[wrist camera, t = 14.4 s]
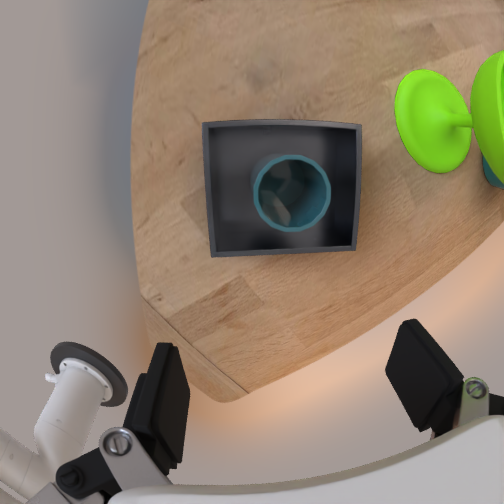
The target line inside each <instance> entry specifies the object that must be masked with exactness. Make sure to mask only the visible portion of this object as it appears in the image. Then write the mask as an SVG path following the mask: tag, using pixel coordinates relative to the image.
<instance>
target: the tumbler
mask: <svg viewBox="0 0 504 504" xmlns="http://www.w3.org/2000/svg"><path fill="white" fill-rule="evenodd" d="M250 189H251V193H252V197H253V201H254V204H255V207H256V209H257V211H258V213H259V215H260V217H261V218H262V219H263V220H264V221H265V222H266V223H268V224H269V225H270V226H271V227H273V228H276V229H278V230H281V231H284V232H300V231H303V230H305V229H307V228H310V227H312V226H314V225H315V224H316V223H317V222H318V221H319V220H320V219H321V218H322V217H323V216H324V215H325V213H326V211H327V208H328V206H329V204H330V201H331V185H330V183H329V180H328V177H327V175H326V172H325V171H324V170H323V169H322V168H321V167H320V166H319V165H318V164H317V163H316V162H315V161H314V160H311V159H309V158H307V157H304V156H302V155H297V154H290V153H271V154H268V155H266V156H264V157H262V158H261V159H260V160H259V161H258V162H257V163H256V164H255V165H254V167H253V169H252V171H251V174H250Z"/></svg>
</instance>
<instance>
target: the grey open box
mask: <svg viewBox="0 0 504 504" xmlns="http://www.w3.org/2000/svg"><path fill="white" fill-rule="evenodd" d="M202 140H203V159H204V176H205V191H206V205H207V217H208V229H209V241H210V251H211V257H234V256H255V255H276V254H297V253H317V252H337V251H356V244H357V234H358V223H359V210H360V194H361V169H362V125H361V124H353V123H342V122H331V121H315V120H289V119H256V120H230V121H215V122H203V123H202ZM271 153H290V154H297V155H302V156H304V157H307V158H309V159H311V160H314V161H315V162H316V163H317V164H318V165H319V166H320V167H321V168H322V169H323V170H324V171H325V172H326V175H327V177H328V180H329V183H330V185H331V201H330V204H329V206H328V208H327V211H326V213H325V215H324V216H323V217H322V218H321V219H320V220H319V221H318V222H317V223H316V224H315V225H314V226H312V227H310V228H307V229H305V230H303V231H300V232H284V231H281V230H278V229H276V228H273V227H271V226H270V225H269V224H268V223H266V222H265V221H264V220H263V219H262V218H261V217H260V215H259V213H258V211H257V209H256V207H255V204H254V201H253V197H252V193H251V189H250V174H251V171H252V169H253V167H254V165H255V164H256V163H257V162H258V161H259V160H260V159H261V158H262V157H264V156H266V155H268V154H271Z"/></svg>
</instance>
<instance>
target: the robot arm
mask: <svg viewBox="0 0 504 504" xmlns="http://www.w3.org/2000/svg"><path fill="white" fill-rule="evenodd" d="M59 369H60V374H56V375H54V374H50V373H46V375H45V379H46V380H47V381H49V382H52V383H56V384H55V389H54V391H53V393H52V395H51V396H50V398H49V400H48V402H47V404H46V406H45V408H44V409H43V411H42V413H41V415H40V417H39V420H38V421H37V423H36V426H35V428H34V439H35V443H36V446H37V449H38V453H39V455H37V454H36V453H34V452H32V451H30V450H29V449H28V448H26V447H25V446H24V445H22V444H21V443H20V442H18V441H17V440H16V439H15V438H13V437H12V436H11V435H10V434H8V433H7V432H6V431H4V430H3V429H2V428H0V481H2V482H3V483H4V484H6V485H7V486H9V487H10V488H11V489H13V490H14V491H16V492H17V493H18V494H20V495H22V496H23V497H25V498H26V499H28V500H29V501H28V502H27V503H26V504H504V397H502V396H498V395H494V394H490V393H489V388H488V386H487V384H486V383H485V382H484V381H483V380H481V379H480V378H476V377H472V378H468V379H467V380H466V381H465V382H464V381H463V378H464V376H463V375H462V373H461V372H460V371H459V370H458V368H457V367H456V366H455V364H454V363H453V362H452V361H451V359H450V358H449V357H448V356H447V354H446V353H445V352H444V351H443V349H442V348H441V347H440V346H439V345H438V343H437V342H436V341H435V340H434V339H433V337H432V336H431V335H430V334H429V333H428V332H427V330H426V329H425V328H424V327H423V326H422V325H421V324H420V322H419V321H418V320H417V319H410V320H406V321H403V323H402V325H400V327H399V330H398V333H397V336H396V339H395V342H394V345H393V348H392V351H391V354H390V357H389V360H388V362H387V366H386V368H385V371H386V375H387V377H388V379H389V380H390V382H391V384H392V386H393V388H394V390H395V391H396V393H397V395H398V397H399V399H400V400H401V402H402V404H403V406H404V408H405V410H406V412H407V414H408V415H409V417H410V419H411V421H412V423H413V425H414V426H415V427H416V428H418V429H419V431H420V432H422V431H424V430H427V429H429V428H430V427H431V428H432V434H431V438H430V441H428V442H426V443H424V444H421V445H419V446H417V447H414V448H412V449H409V450H407V451H404V452H402V453H399V454H397V455H394V456H391V457H388V458H385V459H383V460H379V461H376V462H373V463H370V464H367V465H363V466H360V467H356V468H352V469H349V470H345V471H341V472H336V473H332V474H327V475H322V476H317V477H312V478H306V479H300V480H293V481H285V482H277V483H266V484H251V485H179V484H178V485H174V484H173V483H172V482H171V481H170V480H169V478H168V477H167V475H168V474H169V469H177V463H181V462H182V456H183V446H184V439H185V431H186V422H187V415H188V408H189V400H190V389H189V386H188V382H187V379H186V375H185V372H184V369H183V365H182V361H181V358H180V354H179V350H178V347H177V346H173V344H172V343H157V345H156V348H155V351H154V354H153V357H152V360H151V363H150V366H149V369H148V372H147V373H141V374H140V376H139V378H138V381H137V383H136V386H135V390H134V392H133V395H132V398H131V401H130V405H129V408H128V411H127V414H126V417H125V420H124V424H123V427H114V428H110V429H108V430H107V431H105V432H104V433H103V434H102V435H101V437H100V439H99V447H98V448H96V449H94V450H92V451H91V452H88V453H86V454H84V455H82V451H83V449H84V446H85V443H86V440H87V438H88V435H89V432H90V430H91V427H92V424H93V422H94V419H95V416H96V414H97V411H98V409H99V407H100V404H101V402H105V401H108V400H110V399H111V397H112V395H113V388H112V385H111V383H110V382H109V380H108V379H107V378H106V377H105V376H104V374H102V373H101V372H100V371H99V370H98V369H96V368H95V367H94V366H92V365H91V364H89V363H87V362H85V361H83V360H80V359H77V358H65V359H64V360H63V361H62V362H61V364H60V367H59ZM81 455H82V456H81ZM0 504H23V503H22V502H20V501H19V500H17V499H15V498H14V497H12V496H11V495H10V494H8V493H7V492H5V491H4V490H2V489H1V488H0Z"/></svg>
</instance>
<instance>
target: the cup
mask: <svg viewBox="0 0 504 504" xmlns="http://www.w3.org/2000/svg"><path fill="white" fill-rule="evenodd" d="M483 169H484V173H485V176H486V178H487V180H488V182H489V183H490V184H491V185H492V186H494V187H497V188H500V189H503V190H504V184H503V183H502V182H501V181H500V180H499V178H498V177H497V176H496V175H495V174H494V173H493V171H492V169H491V168H490V166H489V164H488V162H487V161H486V159H485V157H484V155H483Z"/></svg>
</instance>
